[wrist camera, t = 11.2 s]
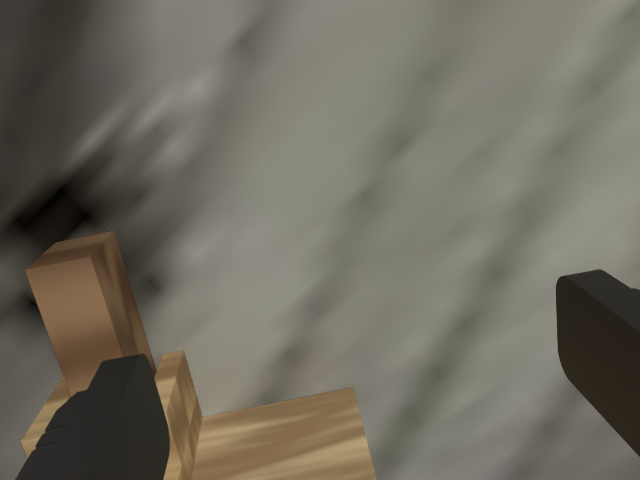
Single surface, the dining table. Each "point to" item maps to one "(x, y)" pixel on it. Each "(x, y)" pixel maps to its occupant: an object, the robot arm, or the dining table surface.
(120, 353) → the brown rectangular block
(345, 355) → the dining table surface
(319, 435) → the light wood notched block
